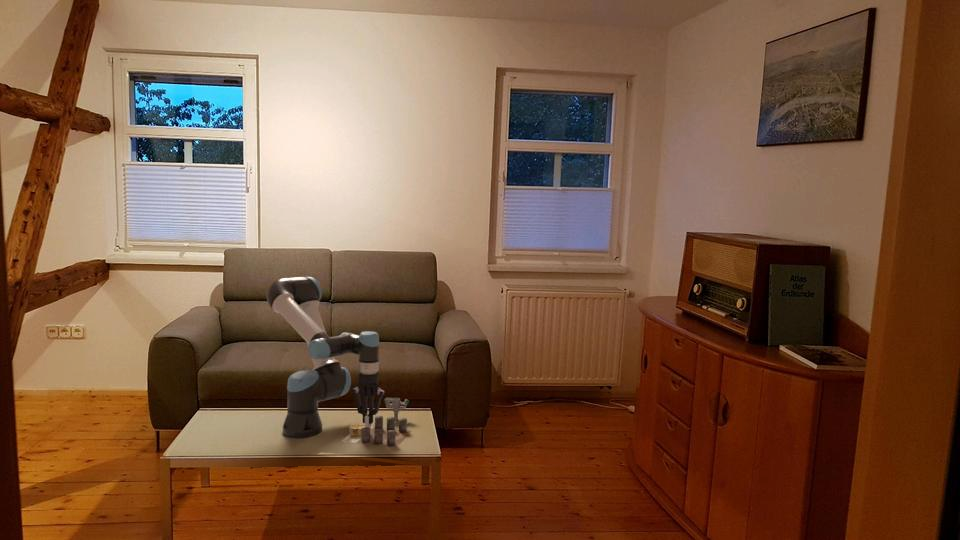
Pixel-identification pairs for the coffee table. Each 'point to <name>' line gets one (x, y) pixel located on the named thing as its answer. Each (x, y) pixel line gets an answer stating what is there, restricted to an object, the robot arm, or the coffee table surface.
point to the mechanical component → (395, 405)
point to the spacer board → (382, 433)
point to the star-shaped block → (356, 430)
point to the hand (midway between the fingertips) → (367, 431)
